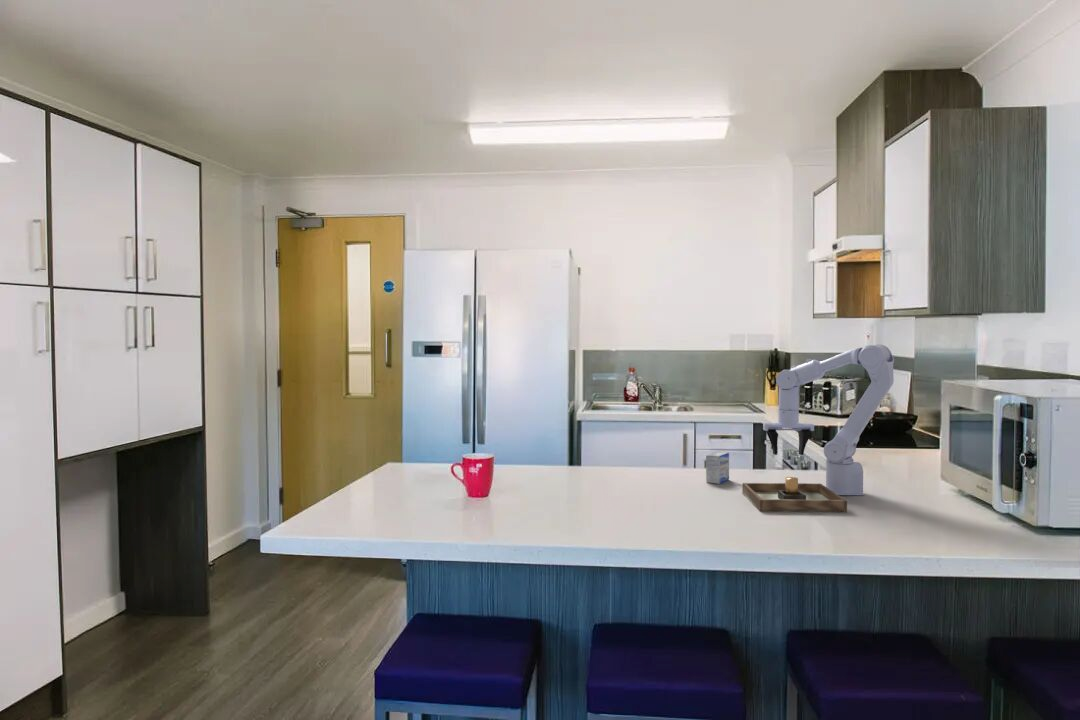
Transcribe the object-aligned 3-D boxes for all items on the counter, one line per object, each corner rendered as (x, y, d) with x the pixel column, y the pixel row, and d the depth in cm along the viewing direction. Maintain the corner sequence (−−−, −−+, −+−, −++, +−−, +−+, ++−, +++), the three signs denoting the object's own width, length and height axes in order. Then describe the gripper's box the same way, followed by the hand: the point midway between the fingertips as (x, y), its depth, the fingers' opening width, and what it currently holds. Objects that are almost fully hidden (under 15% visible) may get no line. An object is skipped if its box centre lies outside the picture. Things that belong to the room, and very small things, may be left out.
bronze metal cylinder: (795, 498, 191) (795, 476, 190) (799, 501, 188) (799, 479, 187) (783, 498, 191) (783, 477, 190) (787, 501, 187) (788, 479, 187)
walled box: (820, 493, 198) (820, 483, 198) (846, 512, 178) (847, 500, 178) (742, 493, 200) (742, 482, 200) (759, 511, 180) (759, 499, 180)
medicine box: (719, 484, 211) (719, 456, 211) (705, 482, 214) (705, 454, 214) (729, 479, 218) (729, 452, 217) (715, 478, 220) (716, 451, 220)
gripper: (808, 408, 212) (808, 452, 213) (760, 407, 213) (760, 451, 214) (816, 410, 205) (816, 456, 206) (766, 410, 206) (766, 456, 207)
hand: (788, 454), depth 209 cm, fingers open, 7 cm apart
